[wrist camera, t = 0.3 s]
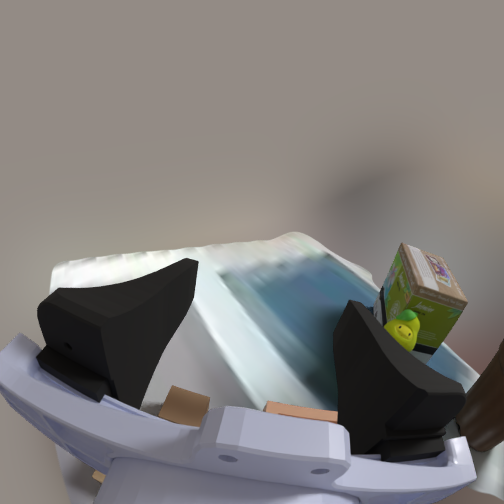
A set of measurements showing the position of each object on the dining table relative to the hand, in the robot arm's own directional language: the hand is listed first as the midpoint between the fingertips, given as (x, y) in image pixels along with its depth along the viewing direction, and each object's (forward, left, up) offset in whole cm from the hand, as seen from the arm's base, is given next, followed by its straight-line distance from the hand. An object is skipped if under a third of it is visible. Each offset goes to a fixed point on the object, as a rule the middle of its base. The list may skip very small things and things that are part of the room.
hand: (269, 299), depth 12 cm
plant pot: (+5, -39, -21) cm, 45 cm away
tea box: (+25, -25, -21) cm, 42 cm away
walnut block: (+2, +5, -21) cm, 22 cm away
